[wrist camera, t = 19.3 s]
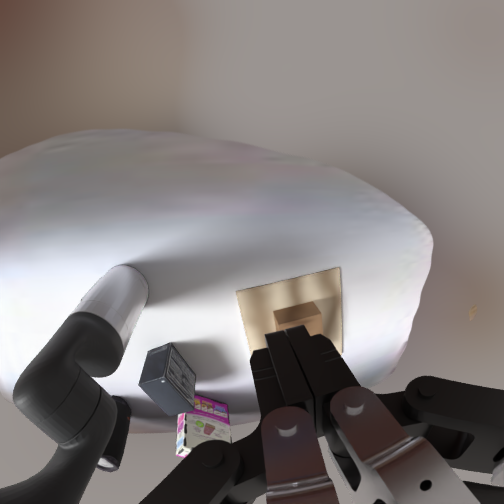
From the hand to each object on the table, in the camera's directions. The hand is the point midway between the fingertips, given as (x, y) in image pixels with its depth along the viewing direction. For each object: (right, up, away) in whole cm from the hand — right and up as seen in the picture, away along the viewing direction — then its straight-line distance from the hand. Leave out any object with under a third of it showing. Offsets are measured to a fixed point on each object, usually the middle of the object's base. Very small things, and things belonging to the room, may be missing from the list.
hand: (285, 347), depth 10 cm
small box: (-18, -20, +43) cm, 51 cm away
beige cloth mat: (+7, -12, +44) cm, 46 cm away
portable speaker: (-36, -35, +45) cm, 68 cm away
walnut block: (+7, -7, +39) cm, 40 cm away
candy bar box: (-13, -32, +48) cm, 59 cm away
